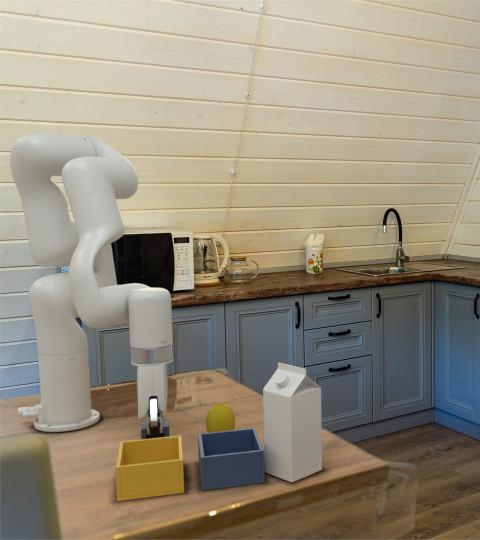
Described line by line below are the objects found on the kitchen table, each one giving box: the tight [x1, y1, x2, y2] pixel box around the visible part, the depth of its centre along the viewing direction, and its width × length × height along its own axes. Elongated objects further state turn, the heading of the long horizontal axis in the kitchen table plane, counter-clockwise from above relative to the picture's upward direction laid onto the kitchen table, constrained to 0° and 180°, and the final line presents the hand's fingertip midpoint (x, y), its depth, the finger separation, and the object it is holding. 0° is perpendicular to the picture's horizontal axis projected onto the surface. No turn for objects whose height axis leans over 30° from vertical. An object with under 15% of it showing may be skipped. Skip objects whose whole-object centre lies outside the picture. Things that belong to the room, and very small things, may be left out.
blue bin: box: [197, 427, 266, 491], centre depth 126 cm, size 10×12×6 cm
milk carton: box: [262, 362, 323, 483], centre depth 126 cm, size 7×7×19 cm
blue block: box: [140, 418, 171, 440], centre depth 137 cm, size 5×5×5 cm
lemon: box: [205, 402, 236, 433], centre depth 141 cm, size 6×6×8 cm
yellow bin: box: [115, 435, 185, 502], centre depth 122 cm, size 10×12×6 cm
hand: (156, 447), depth 138 cm, fingers closed on blue block, 5 cm apart
